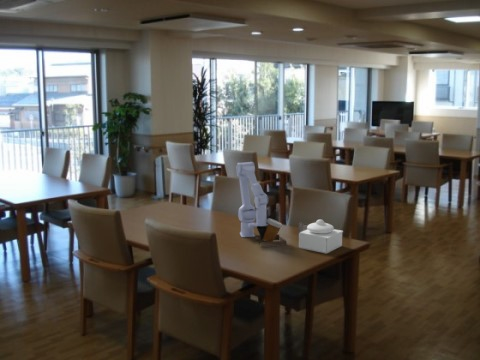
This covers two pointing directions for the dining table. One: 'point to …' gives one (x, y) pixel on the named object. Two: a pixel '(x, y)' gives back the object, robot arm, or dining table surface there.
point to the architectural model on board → (302, 227)
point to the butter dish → (320, 237)
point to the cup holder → (274, 243)
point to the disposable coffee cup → (271, 230)
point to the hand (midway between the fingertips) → (261, 238)
